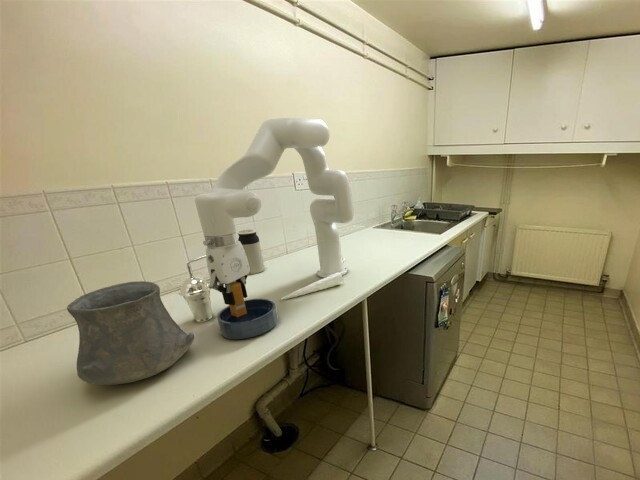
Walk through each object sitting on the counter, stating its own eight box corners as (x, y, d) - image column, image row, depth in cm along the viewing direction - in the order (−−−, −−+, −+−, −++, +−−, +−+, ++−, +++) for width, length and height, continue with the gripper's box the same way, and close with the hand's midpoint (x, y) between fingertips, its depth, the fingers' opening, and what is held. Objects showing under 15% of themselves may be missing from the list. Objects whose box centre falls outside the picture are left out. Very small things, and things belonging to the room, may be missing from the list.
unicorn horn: (277, 297, 112) (275, 285, 110) (339, 281, 125) (338, 270, 123) (281, 302, 108) (278, 289, 106) (344, 285, 121) (343, 273, 119)
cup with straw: (194, 313, 101) (176, 255, 94) (224, 310, 103) (209, 252, 96) (183, 327, 93) (163, 264, 86) (216, 322, 95) (199, 261, 88)
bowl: (247, 311, 102) (244, 296, 100) (288, 316, 98) (286, 301, 96) (208, 337, 88) (203, 320, 86) (254, 344, 84) (250, 326, 82)
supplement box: (248, 313, 93) (241, 282, 89) (237, 318, 90) (229, 286, 87) (242, 310, 95) (234, 280, 91) (231, 315, 92) (222, 284, 88)
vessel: (184, 387, 69) (156, 307, 62) (60, 410, 63) (13, 325, 56) (212, 336, 88) (193, 270, 81) (119, 350, 83) (90, 281, 75)
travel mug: (254, 275, 133) (245, 234, 126) (241, 272, 136) (231, 232, 129) (269, 269, 139) (261, 229, 133) (256, 266, 143) (248, 228, 136)
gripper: (207, 249, 76) (224, 315, 82) (255, 233, 91) (266, 290, 97) (182, 247, 77) (201, 312, 84) (233, 232, 93) (246, 288, 99)
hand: (236, 300), depth 91 cm, fingers closed on supplement box, 4 cm apart
